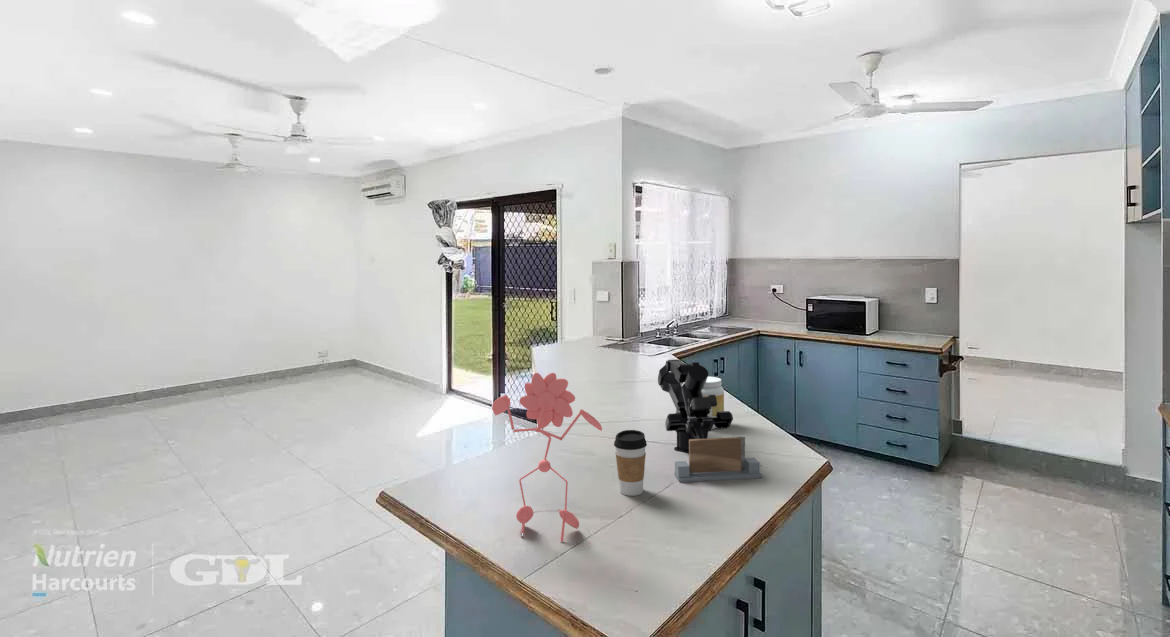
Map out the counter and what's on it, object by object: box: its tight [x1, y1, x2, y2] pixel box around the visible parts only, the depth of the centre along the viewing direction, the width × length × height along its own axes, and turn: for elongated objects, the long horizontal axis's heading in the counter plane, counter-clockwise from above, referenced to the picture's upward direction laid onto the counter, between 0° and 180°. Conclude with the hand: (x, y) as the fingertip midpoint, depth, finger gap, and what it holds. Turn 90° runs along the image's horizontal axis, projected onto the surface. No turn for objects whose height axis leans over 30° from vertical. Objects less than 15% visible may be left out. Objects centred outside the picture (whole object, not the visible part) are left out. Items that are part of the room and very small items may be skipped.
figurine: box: [491, 372, 603, 546], centre depth 121 cm, size 15×26×35 cm, turn 74°
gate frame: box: [674, 457, 762, 483], centre depth 148 cm, size 5×23×4 cm, turn 94°
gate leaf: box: [688, 436, 746, 473], centre depth 148 cm, size 2×15×9 cm, turn 94°
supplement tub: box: [702, 375, 725, 430], centre depth 196 cm, size 12×12×17 cm
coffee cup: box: [613, 429, 648, 497], centre depth 139 cm, size 8×8×15 cm
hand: (704, 447), depth 152 cm, fingers closed
